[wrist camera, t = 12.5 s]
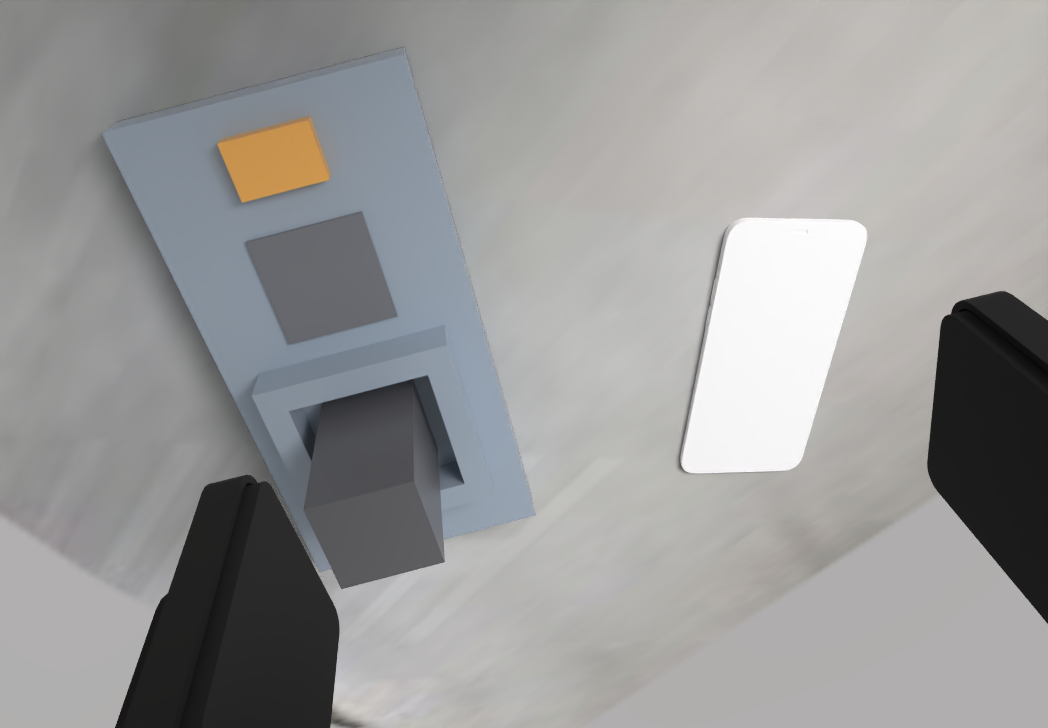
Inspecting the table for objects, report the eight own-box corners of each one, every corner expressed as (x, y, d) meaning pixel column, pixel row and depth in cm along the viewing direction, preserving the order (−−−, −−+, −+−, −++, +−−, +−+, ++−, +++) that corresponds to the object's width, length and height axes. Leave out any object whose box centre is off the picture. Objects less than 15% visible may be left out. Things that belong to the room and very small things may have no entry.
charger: (322, 400, 37) (303, 510, 30) (412, 376, 37) (414, 481, 30) (353, 473, 39) (342, 591, 33) (438, 451, 39) (445, 564, 33)
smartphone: (678, 474, 45) (729, 220, 37) (674, 465, 45) (724, 215, 38) (799, 470, 46) (873, 223, 38) (793, 462, 46) (865, 217, 39)
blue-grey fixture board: (117, 121, 32) (82, 146, 28) (404, 46, 32) (404, 62, 28) (322, 546, 44) (316, 599, 41) (530, 491, 44) (541, 540, 41)
